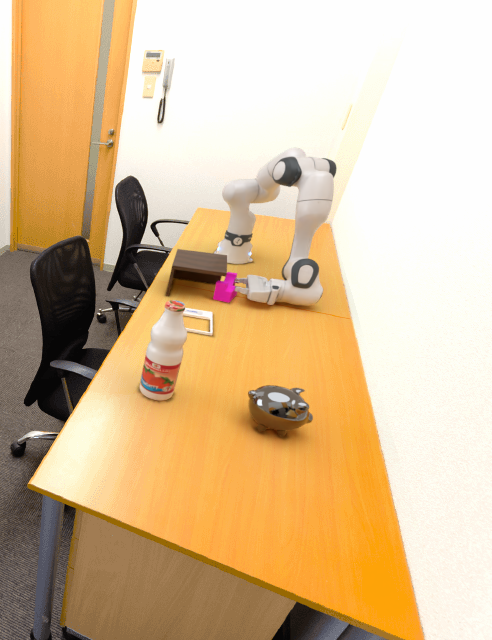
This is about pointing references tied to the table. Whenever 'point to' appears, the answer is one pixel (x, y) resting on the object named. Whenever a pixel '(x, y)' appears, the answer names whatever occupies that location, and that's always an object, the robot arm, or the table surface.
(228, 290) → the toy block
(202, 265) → the shelf
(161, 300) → the table surface
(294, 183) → the robot arm
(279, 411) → the piggy bank
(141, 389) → the fruit juice
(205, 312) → the photo frame
